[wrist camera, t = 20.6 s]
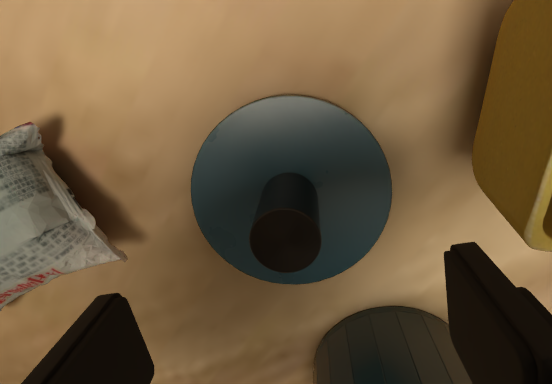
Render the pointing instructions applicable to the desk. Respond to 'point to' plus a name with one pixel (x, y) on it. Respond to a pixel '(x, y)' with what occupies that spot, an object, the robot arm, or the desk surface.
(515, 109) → the flower pot
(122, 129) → the desk surface
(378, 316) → the pot
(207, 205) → the pot lid
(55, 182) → the packaged food
